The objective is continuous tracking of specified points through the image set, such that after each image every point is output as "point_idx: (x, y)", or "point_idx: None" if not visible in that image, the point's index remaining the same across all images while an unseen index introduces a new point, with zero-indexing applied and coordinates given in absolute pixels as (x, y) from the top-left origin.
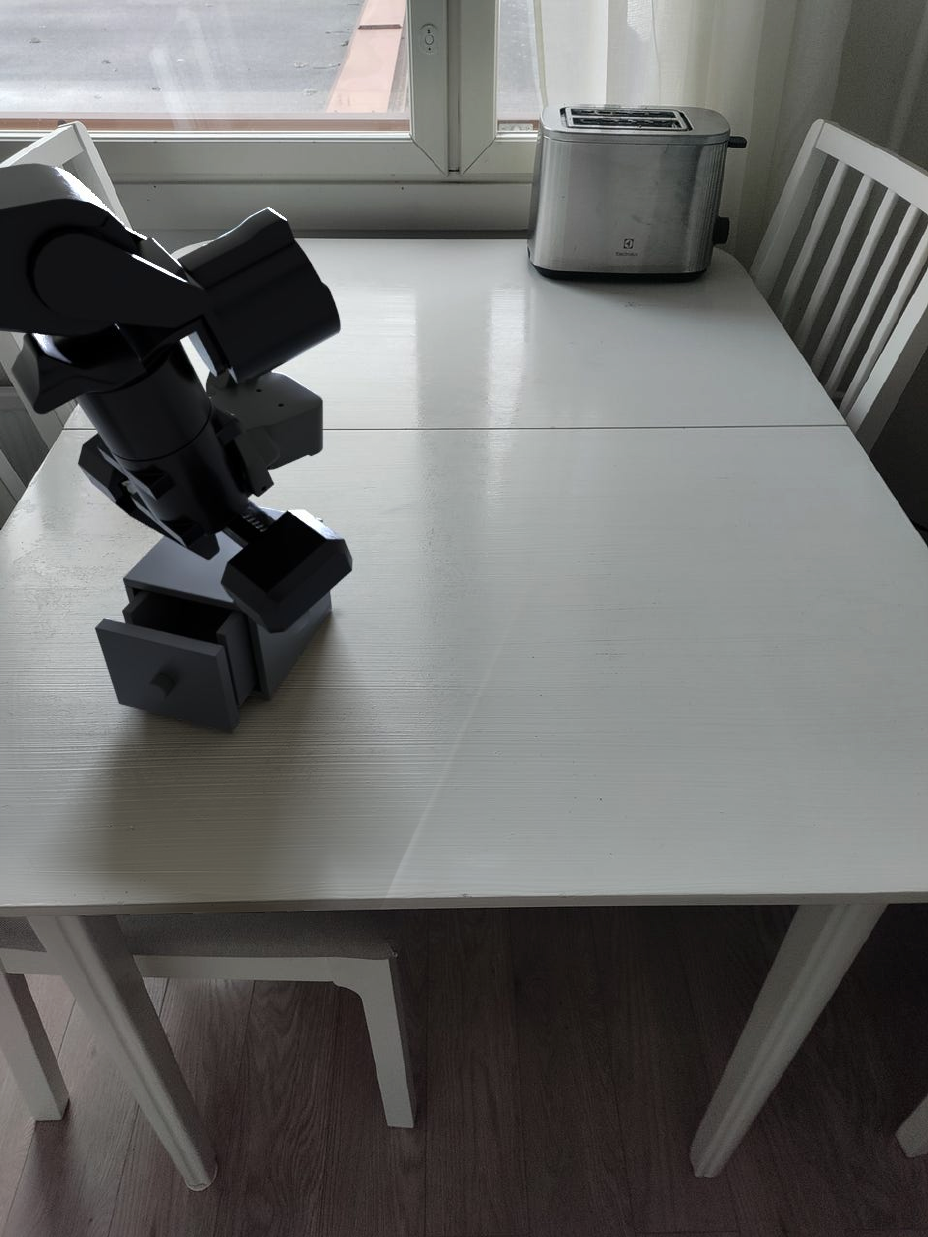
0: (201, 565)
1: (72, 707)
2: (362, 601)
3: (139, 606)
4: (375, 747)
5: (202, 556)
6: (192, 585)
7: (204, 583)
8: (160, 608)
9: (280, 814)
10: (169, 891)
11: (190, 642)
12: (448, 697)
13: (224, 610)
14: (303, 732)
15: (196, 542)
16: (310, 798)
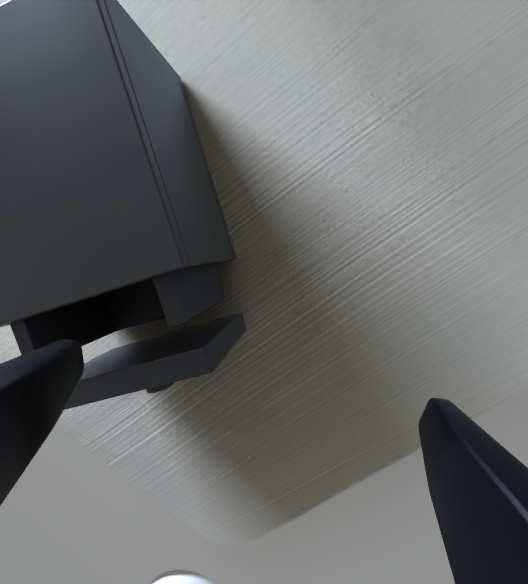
0: (30, 234)
1: None
2: (201, 35)
3: (35, 343)
4: (390, 241)
5: (69, 397)
6: (61, 283)
7: (71, 267)
8: None
9: (361, 374)
10: (334, 491)
11: (157, 368)
12: (420, 113)
13: None
14: (302, 272)
15: (30, 434)
16: (374, 341)
